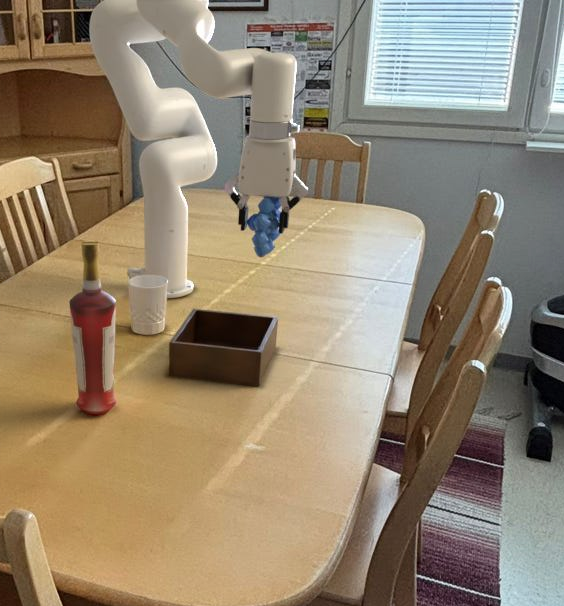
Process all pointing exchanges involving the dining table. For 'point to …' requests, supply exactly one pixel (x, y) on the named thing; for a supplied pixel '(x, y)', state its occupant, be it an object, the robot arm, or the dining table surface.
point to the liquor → (93, 337)
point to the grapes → (265, 225)
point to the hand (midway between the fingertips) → (262, 229)
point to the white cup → (147, 303)
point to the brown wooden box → (223, 347)
